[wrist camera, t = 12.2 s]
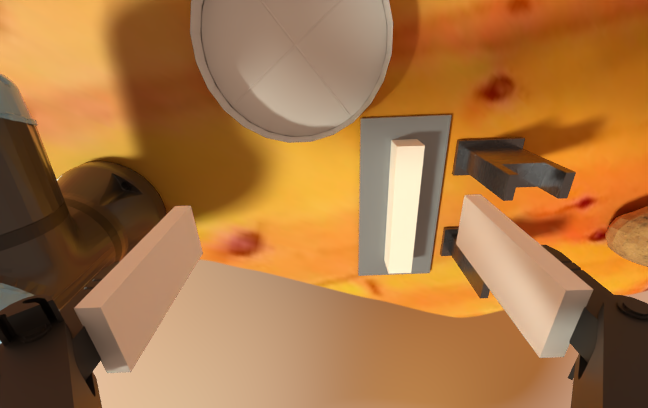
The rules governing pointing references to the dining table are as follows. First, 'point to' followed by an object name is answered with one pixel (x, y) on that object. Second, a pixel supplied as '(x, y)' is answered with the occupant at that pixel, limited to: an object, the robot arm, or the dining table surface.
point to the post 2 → (510, 167)
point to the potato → (630, 236)
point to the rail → (403, 203)
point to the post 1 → (462, 261)
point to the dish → (292, 61)
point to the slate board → (376, 186)
